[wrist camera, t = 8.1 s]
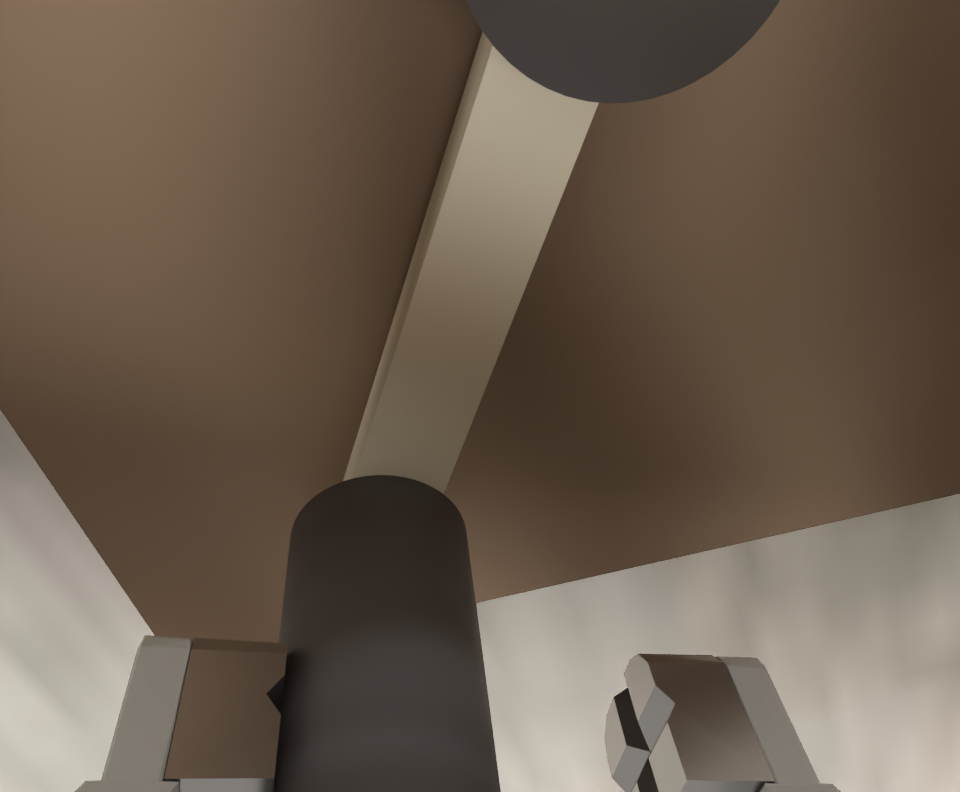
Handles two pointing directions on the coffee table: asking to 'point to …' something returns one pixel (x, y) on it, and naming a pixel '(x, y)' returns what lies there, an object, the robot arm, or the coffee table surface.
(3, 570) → the coffee table surface
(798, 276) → the board
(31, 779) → the coffee table surface
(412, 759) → the tuning crank
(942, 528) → the coffee table surface
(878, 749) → the coffee table surface
